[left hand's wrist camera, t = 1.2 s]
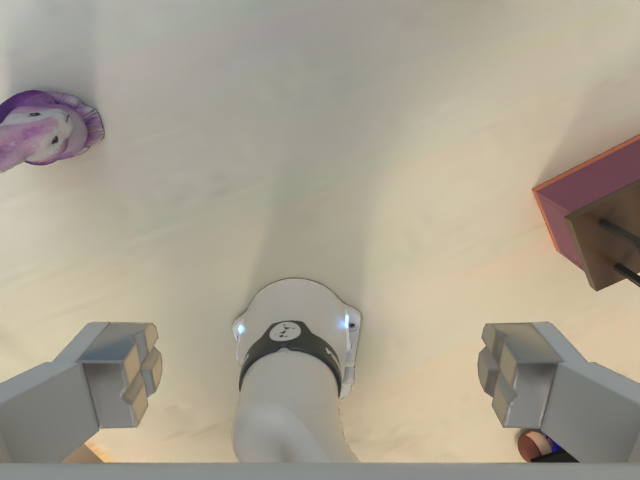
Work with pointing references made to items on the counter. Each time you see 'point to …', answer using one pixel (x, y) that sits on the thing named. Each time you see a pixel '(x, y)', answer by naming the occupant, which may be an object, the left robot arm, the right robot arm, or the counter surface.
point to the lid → (609, 237)
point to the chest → (585, 190)
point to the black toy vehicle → (542, 449)
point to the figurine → (45, 128)
